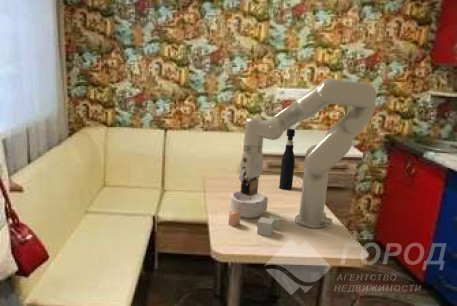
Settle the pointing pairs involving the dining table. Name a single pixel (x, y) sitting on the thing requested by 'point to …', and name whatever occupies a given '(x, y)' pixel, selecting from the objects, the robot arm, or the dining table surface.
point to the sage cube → (276, 221)
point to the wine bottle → (287, 163)
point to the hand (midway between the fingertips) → (249, 191)
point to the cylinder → (234, 218)
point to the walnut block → (251, 187)
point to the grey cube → (265, 226)
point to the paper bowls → (249, 204)
